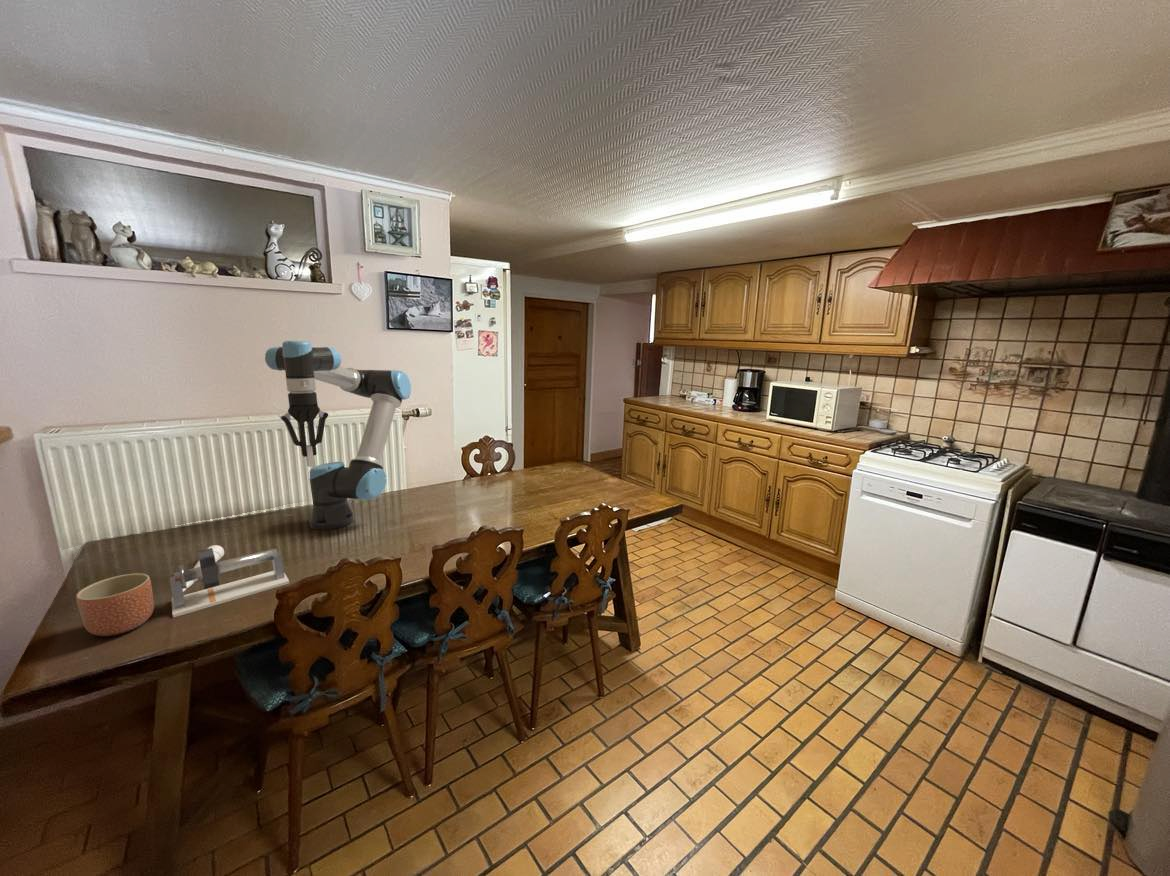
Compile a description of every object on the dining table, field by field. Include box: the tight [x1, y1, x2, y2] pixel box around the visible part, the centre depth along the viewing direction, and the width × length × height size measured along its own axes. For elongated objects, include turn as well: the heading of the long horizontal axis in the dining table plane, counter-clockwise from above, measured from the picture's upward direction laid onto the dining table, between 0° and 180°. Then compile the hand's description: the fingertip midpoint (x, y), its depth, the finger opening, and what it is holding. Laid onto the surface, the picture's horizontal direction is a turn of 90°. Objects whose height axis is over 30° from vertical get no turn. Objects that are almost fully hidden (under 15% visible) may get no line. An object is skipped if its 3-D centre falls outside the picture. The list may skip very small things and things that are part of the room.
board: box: [171, 570, 290, 618], centre depth 126 cm, size 10×25×1 cm, turn 133°
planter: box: [75, 572, 155, 637], centre depth 109 cm, size 12×12×11 cm
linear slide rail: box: [169, 547, 285, 609], centre depth 125 cm, size 6×24×11 cm, turn 133°
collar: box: [197, 548, 220, 590], centre depth 121 cm, size 7×3×8 cm, turn 43°
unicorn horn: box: [183, 544, 225, 593], centre depth 135 cm, size 5×24×5 cm, turn 15°
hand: (310, 465), depth 145 cm, fingers closed
